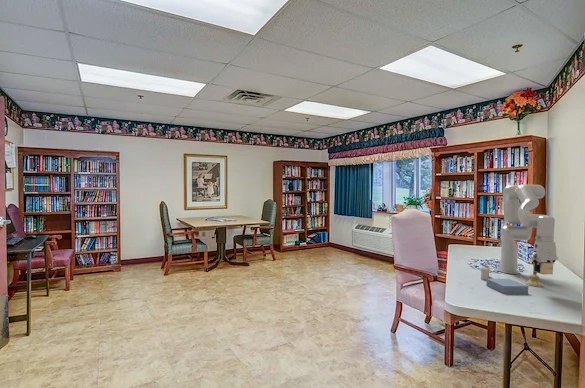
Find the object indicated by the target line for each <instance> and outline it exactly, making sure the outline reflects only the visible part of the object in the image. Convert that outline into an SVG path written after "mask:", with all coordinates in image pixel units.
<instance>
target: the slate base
mask: <svg viewBox="0 0 585 388" xmlns="http://www.w3.org/2000/svg"><path fill="white" fill-rule="evenodd" d="M486 286H487V287H489V288H491V289H493V290H495V291H497V292H500V293H501V294H510V293H528V294H529V285H527V284H524V283H521V282H518V281H516V280H515V279H514V280H513V279H511V278H488V279H487V280H486Z"/></svg>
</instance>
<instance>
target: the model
mask: <svg viewBox="0 0 585 388" xmlns="http://www.w3.org/2000/svg"><path fill="white" fill-rule="evenodd" d="M480 269H481V274H480V276H481V277H480V280H485V281H487V279H490V278H489V277H490V269H491V268H490V265H484V266H482V267H481V268H480Z"/></svg>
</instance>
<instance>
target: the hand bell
mask: <svg viewBox="0 0 585 388" xmlns="http://www.w3.org/2000/svg"><path fill="white" fill-rule="evenodd" d="M537 261H538V260H537ZM533 266H534V263H533V262H532V267H533ZM525 285H526V286H532V287H536V288H543V285H544V284H542V282H541V280H540V276H539V275H538V273H537V272H534V271H533V270H532V274H530V275H529V279H528V280H527V281H526V282H525Z"/></svg>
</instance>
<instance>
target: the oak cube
mask: <svg viewBox="0 0 585 388" xmlns="http://www.w3.org/2000/svg"><path fill="white" fill-rule="evenodd" d="M534 265H535V264H534ZM539 265H540V272H537V271H534V266H533V265H532V267H533V270H532V272H533V271H534V272H537V274H539V275H553V273H554V263H550V262H547V261H546V260H541V262H540V264H539Z"/></svg>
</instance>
